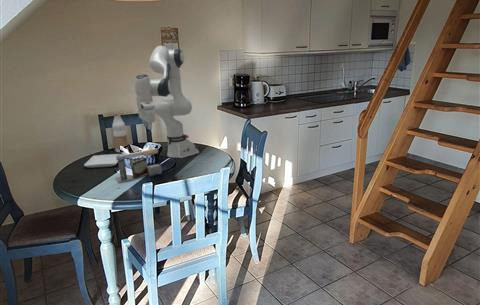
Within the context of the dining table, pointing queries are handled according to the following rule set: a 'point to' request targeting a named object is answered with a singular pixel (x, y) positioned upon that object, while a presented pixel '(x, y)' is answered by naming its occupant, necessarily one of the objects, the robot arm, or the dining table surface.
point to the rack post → (123, 173)
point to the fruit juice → (119, 132)
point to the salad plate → (102, 161)
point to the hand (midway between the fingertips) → (147, 127)
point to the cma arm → (137, 154)
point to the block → (153, 170)
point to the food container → (138, 167)
